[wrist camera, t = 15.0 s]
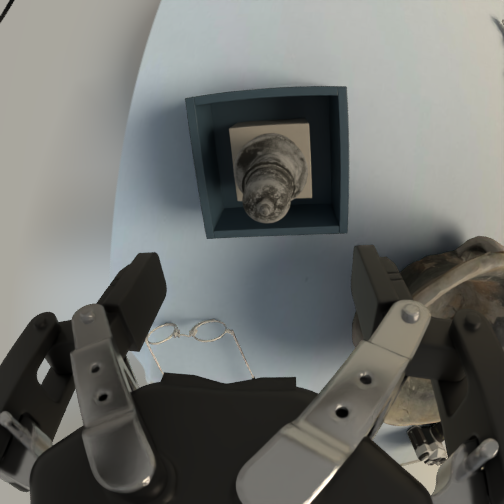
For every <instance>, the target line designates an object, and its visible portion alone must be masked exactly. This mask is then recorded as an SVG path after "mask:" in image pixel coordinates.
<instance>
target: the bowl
mask: <svg viewBox="0 0 504 504" xmlns="http://www.w3.org/2000/svg"><path fill="white" fill-rule="evenodd" d="M400 274H401V276H402V278H403V280H404V282H405V284H406V286H407V288H408V290H409V292H410V294H411V296H412V298H413V300H414V301H417V302H419V303H421V304H423V305H424V306H426V307H427V308H428V310H429V311H430V314H431V316H432V317H436V318H442V319H449V320H453V317H454V315H455V313H456V312H457V311H459V310H461V309H473V310H476V311H478V312H480V313H482V314H483V315H484V316H485V317H486V318H487V320H488V321H489V323H490V325H491V327H492V329H493V331H494V332H495V334H496V336H497V338H498V340H499V342H500V344H501V346H502V348H503V350H504V246H503V245H501V244H499V243H498V242H496V241H495V240H493V239H491V238H488V237H484V236H477V237H474V238H471V239H469V240H467V241H466V242H465V243H464V244H463V245H461V246H460V247H459V248H457V249H456V250H455V251H450V252H445V253H442V254H437V255H429V256H426V257H424V258H423V259H421V260H420V261H416V262H414V263H412V264H410V265H409V266H407V267H406V268H405V269H404V270H402V271H401V272H400ZM352 339H353V344H354V346H355V348H356V347H357V345H358V344H359V343H360V342H361V341H362V340H363V335H362V331H361V327H360V323H359V319H358V315H357V311H356V313H355V316H354V319H353V323H352ZM440 421H441V420H440V416H439V411H438V407H437V403H436V399H435V395H434V391H433V387H432V384H431V380H430V379H423V378H416V377H408V379H407V381H406V383H405V385H404V387H403V388H402V390H401V392H400V394H399V396H398V397H397V399H396V401H395V403H394V404H393V406H392V408H391V410H390V411H389V413H388V415H387V416H386V418H385V420H384V422H383V423H386V424H389V425H394V426H408V425H421V424H429V423H436V422H440Z"/></svg>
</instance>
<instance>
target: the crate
mask: <svg viewBox="0 0 504 504" xmlns="http://www.w3.org/2000/svg"><path fill="white" fill-rule="evenodd" d="M185 102H186V109H187V117H188V124H189V131H190V138H191V145H192V152H193V159H194V165H195V172H196V178H197V184H198V190H199V197H200V203H201V209H202V214H203V220H204V226H205V232H206V237H207V239H213V238H233V237H257V236H282V235H309V234H339V233H347V231H348V204H349V128H348V102H347V87H342V86H311V87H283V88H267V89H254V90H243V91H234V92H225V93H217V94H210V95H203V96H196V97H190V98H185ZM300 118H305V119H306V121H307V122H308V123H309V133H310V153H311V179H312V198H295V199H293V200H292V201H291V204H290V208H289V210H288V212H287V214H286V215H285V216H284V217H283V218H282V219H280V220H279V221H277V222H273V223H260V222H257V221H255V220H253V219H252V218H251V217H249V215H248V214H247V213H246V211H245V209H244V207H243V202H242V201H237V193H236V185H235V178H234V168H233V159H232V151H231V142H230V134H229V128H231V127H232V126H233V125H235V124H236V123H238V122H250V121H262V120H278V119H300Z"/></svg>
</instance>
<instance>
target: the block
mask: <svg viewBox="0 0 504 504" xmlns="http://www.w3.org/2000/svg"><path fill="white" fill-rule="evenodd" d="M268 133H275V134H281V135H283V136H285V137H288V138H289V139H290V140H291V141H293V142H294V143H295V145H296V146H297V147H299V149H300V150H301V152H302V153H303V155H304V156H305V159H306V162H307V166H308V177H307V182H306V184H305V186H304V188H303V190H302V192H301V193H300V194H299V195H298V196H297V197H296V198H312V179H311V153H310V133H309V123H308V122H307V121H306V119H305V118H300V119H278V120H262V121H250V122H238V123H236V124H235V125H233V126H232V127H231V128H229V134H230V142H231V151H232V159H233V168H234V163H235V160H236V157H237V155H238V153H239V151H240V150H241V149H242V148H243V146H244V145H246V144H247V143H248V142H250V141H251V140H253V139H255V138H256V137H258V136H260V135H263V134H268ZM235 185H236V193H237V201H242V198H243V193H242V192H241V191H240V190H239V188H238V186H237V184H236V182H235Z"/></svg>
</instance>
